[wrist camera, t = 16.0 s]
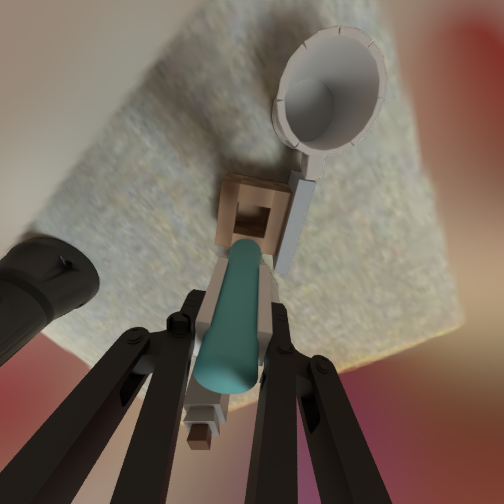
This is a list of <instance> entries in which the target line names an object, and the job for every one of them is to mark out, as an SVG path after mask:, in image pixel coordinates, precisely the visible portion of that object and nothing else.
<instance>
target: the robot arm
mask: <svg viewBox="0 0 504 504" xmlns="http://www.w3.org/2000/svg"><path fill="white" fill-rule="evenodd" d="M228 260H229V259H227V258H221V257H219V259H218V261H217V264H216V267H215V269H214V272H213V275H212V278H211V280H210V283H209V286H208V288H207V291H201V290H195V289H193V290H192V291H191V292H190V293H188V295H187V297H186V299H185V302H184V304H183V306H182V308H181V310H180V311H179V312H175V313H173V314H171V315H170V316H169V317H168V318H167V330H164V331H160V332H153V333H149V331H148V330H147V329H145V328H143V327H134V328H131V329H129V330H127V331H125V332H124V333H123V334H122V335H121V336H120V337H119V338H118V339H117V341H116V342H115V343H114V344H113V345H112V346H111V347H110V349H109V350H108V351H107V352H106V353H105V354H104V355H103V357H102V358H101V359H100V360H99V361H98V362H97V363H96V364H95V366H94V367H93V368H92V369H91V370H90V371H89V372H88V374H87V375H86V376H85V377H84V378H83V379H82V380H81V382H80V383H79V384H78V385H77V386H76V387H75V388H74V390H73V391H72V392H71V393H70V394H69V395H68V396H67V398H66V399H65V400H64V401H63V402H62V403H61V404H60V405H59V407H58V408H57V409H56V410H55V411H54V413H52V415H51V416H50V417H49V418H48V419H47V420H46V421H45V423H44V424H43V425H42V426H41V427H40V429H38V430H37V432H36V433H35V434H34V435H33V436H32V437H31V439H30V440H29V441H28V442H27V443H26V444H25V446H23V448H22V449H21V450H20V451H19V452H18V453H17V454H16V455H15V457H14V458H13V459H12V460H11V461H10V462H9V463H8V465H7V466H6V467H5V468H4V469H3V470H2V471H1V473H0V504H71V502H72V500H73V499H74V497H75V496H76V494H77V493H78V491H79V489H80V488H81V486H82V484H83V482H84V481H85V479H86V478H87V476H88V474H89V473H90V471H91V469H92V468H93V466H94V465H95V463H96V461H97V460H98V458H99V456H100V455H101V453H102V451H103V450H104V448H105V446H106V445H107V443H108V442H109V440H110V438H111V437H112V435H113V433H114V432H115V430H116V428H117V427H118V425H119V423H120V422H121V420H122V419H123V417H124V415H125V413H126V412H127V410H128V409H129V407H130V405H131V404H132V402H133V400H134V399H135V397H136V396H137V394H138V392H139V391H140V389H141V387H142V386H143V384H144V382H145V381H146V379H147V377H148V376H149V374H150V373H153V374H152V377H151V380H150V383H149V386H148V389H147V392H146V396H145V399H144V402H143V405H142V408H141V411H140V414H139V417H138V420H137V423H136V426H135V429H134V432H133V435H132V438H131V441H130V444H129V447H128V450H127V453H126V456H125V459H124V462H123V465H122V468H121V471H120V475H119V477H118V480H117V484H116V486H115V490H114V493H113V496H112V499H111V502H110V504H165V503H166V498H167V492H168V487H169V481H170V476H171V470H172V464H173V459H174V453H175V447H176V442H177V437H178V431H179V426H180V420H181V415H182V409H183V404H184V398H185V393H186V387H187V381H188V376H189V370H190V365H191V357H192V354H193V355H195V356H198V352H199V349H200V346H201V343H202V339H203V336H204V334H205V332H206V331H207V330H208V329H210V326H211V322H212V319H213V315H214V312H215V308H216V304H217V301H218V297H219V294H220V290H221V287H222V283H223V280H224V276H225V272H226V269H227V265H228ZM98 290H99V277H98V274H97V272H96V270H95V268H94V267H93V265H92V264H91V262H90V261H89V260H88V259H87V258H86V257H85V256H84V255H83V254H82V253H80V252H79V251H78V250H76V249H75V248H73V247H72V246H70V245H68V244H66V243H64V242H61V241H58V240H55V239H51V238H43V237H40V238H33V239H30V240H27V241H25V242H23V243H20V244H18V245H16V246H15V247H13V248H12V249H11V250H10V251H9V252H8V253H7V255H6V256H5V257H4V258H2V259H1V260H0V367H1V366H2V365H3V364H4V363H5V362H6V361H8V360H9V359H10V358H11V357H12V356H13V355H14V354H16V352H18V351H19V350H20V349H21V348H22V347H23V346H24V345H25V344H27V343H28V342H29V341H30V340H31V339H32V338H33V337H35V336H36V335H37V334H38V333H39V332H40V331H41V330H42V329H44V328H45V327H46V326H47V325H48V324H49V323H51V322H52V321H53V320H55V319H57V318H59V317H61V316H63V315H65V314H67V313H69V312H71V311H72V310H74V309H77V308H79V307H81V306H83V305H85V304H86V303H88V302H89V301H90V300H91V299H92V298H93V297H94V296H95V295H96V294H97V292H98ZM257 339H258V342H259V357H258V365H259V366H262V365H263V362H264V370H263V373H262V376H261V379H260V382H259V383H261V385H260V392H259V399H258V407H257V414H256V422H255V429H254V436H253V444H252V451H251V459H250V467H249V473H248V481H247V488H246V496H245V503H244V504H298V490H297V489H298V486H297V414H296V413H297V412H296V410H297V409H296V396H297V400H298V405H299V409H300V413H301V418H302V422H303V426H304V431H305V435H306V439H307V444H308V448H309V452H310V456H311V461H312V465H313V470H314V474H315V478H316V483H317V487H318V491H319V496H320V500H321V504H392V502H391V500H390V497H389V495H388V492H387V490H386V488H385V485H384V483H383V480H382V478H381V476H380V473H379V471H378V468H377V466H376V464H375V462H374V459H373V457H372V454H371V452H370V450H369V447H368V445H367V442H366V440H365V438H364V436H363V433H362V431H361V428H360V426H359V424H358V421H357V419H356V416H355V414H354V412H353V409H352V407H351V404H350V402H349V400H348V397H347V395H346V393H345V390H344V388H343V386H342V383H341V381H340V379H339V376H338V374H337V371H336V369H335V367H334V365H333V363H332V362H331V361H330V360H329V359H328V358H326V357H324V356H321V355H314V356H313V357H312V358H310V357H307V356H305V355H303V354H301V353H300V352H298V351H297V350H296V349H295V347H294V346H293V344H292V343H291V338H290V331H289V323H288V317H287V310H286V308H285V306H284V305H283V304H281V303H275V302H271V290H270V270H269V266H266V265H261V264H260V266H259V280H258V309H257Z"/></svg>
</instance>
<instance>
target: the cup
mask: <svg viewBox="0 0 504 504" xmlns="http://www.w3.org/2000/svg"><path fill="white" fill-rule="evenodd" d="M371 41H372V38H370V37H369V36H368V35H366V34H365V33H364V32H362V31H361V30H359V29H357V28H352V27H346V26H341V27H340V28H339V26H335V27H331V28H327V29H323V30H320V31H318V32H317V33H315V34H314V35H312V36H311V37H310V38H308V39H307V40H305V41H304V43H303V44H301V45H300V46H299V47H298V49H297V50H296V51H295V52H294V54H293V55H292V56H291V57H290V59H289V60H288V62H287V65H286V67H285V69H284V71H283V74H282V76H281V78H280V82H279V88H278V92H277V95H276V97H275V99H274V103H273V109H272V121H273V127H274V129H275V132H276V134H277V136H278V137H279V139H280V140H281V141H282V142H283V143H284V144H285V145H287V146H289V147H290V148H292V149H296V150H300V151H302V159H301V172H302V174H303V176H304V178H305V179H307V180H316V179H320V178H321V176H322V174H323V169H324V164H325V158H326V157H328V156H334V155H339V154H341V153H342V152H344V151H346V150H348V149H350V148H352V146H355V145H356V144H357V143H358V142H359V141H360V140H361V139H362V138H364V137H365V136H366V135H367V134H368V132H369V131H370V129H371V127H372V126H373V124H374V123H375V121H376V120H377V118H378V116H379V113H380V111H381V108H382V105H383V102H384V100H385V99H381V97H385V94H386V83H387V73H386V68H385V63H384V58H383V55H382V54H381V52H380V50H379V48H378V47H377V45H376V43H375V42H374V41H373V42H372V43H371ZM370 43H371V44H370ZM369 44H370V45H369Z"/></svg>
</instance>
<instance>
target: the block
mask: <svg viewBox="0 0 504 504" xmlns="http://www.w3.org/2000/svg"><path fill="white" fill-rule="evenodd" d="M292 197H293V193H292V191H291V189H290V187H289V185H288V184H285V183H280V182H275V181H270V180H264V179H259V178H254V177H249V176H244V175H239V174H233V173H228V174H227V175H226V176H225V177H224V178H223V179H222V182H221V192H220V201H219V210H218V220H217V229H216V239H215V245H219V246H224V247H230V248H231V246H232V244H233V243H234V242H235V241H237V240H239V239H251V240H253V241H255V242H256V243H257V244H258V245H259V246H260V248H261V253H264V254H269V255H275V256H277V253H278V249H279V245H280V241H281V238H282V234H283V230H284V226H285V223H286V219H287V215H288V212H289V208H290V204H291V200H292Z"/></svg>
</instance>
